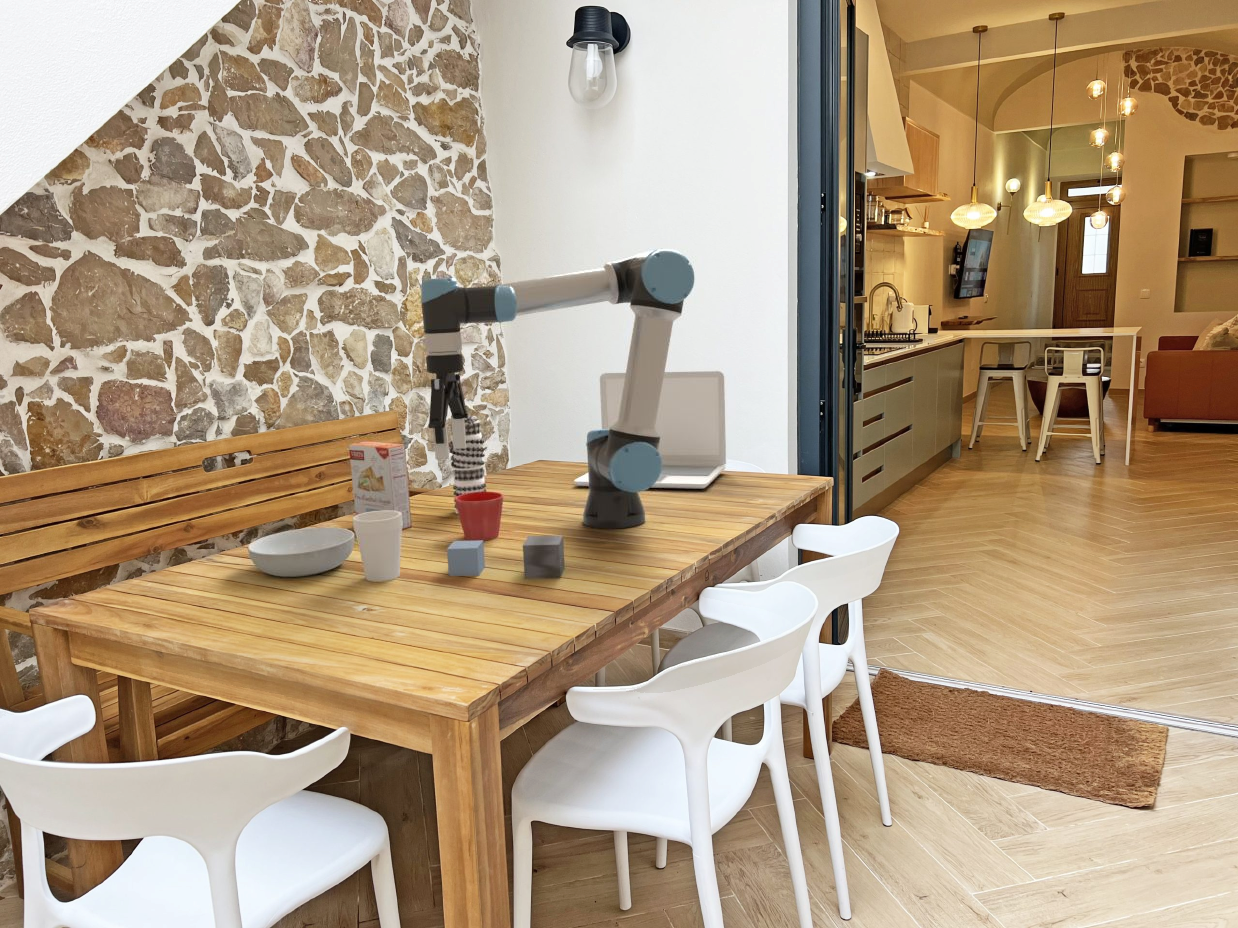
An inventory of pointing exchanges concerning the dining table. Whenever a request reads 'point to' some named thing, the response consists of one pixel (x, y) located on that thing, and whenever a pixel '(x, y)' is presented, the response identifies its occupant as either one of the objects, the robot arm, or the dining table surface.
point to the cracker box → (380, 478)
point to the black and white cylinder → (468, 460)
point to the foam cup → (379, 543)
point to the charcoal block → (543, 557)
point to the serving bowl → (302, 551)
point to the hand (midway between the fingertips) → (451, 453)
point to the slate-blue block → (466, 558)
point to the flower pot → (480, 514)
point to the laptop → (679, 426)
